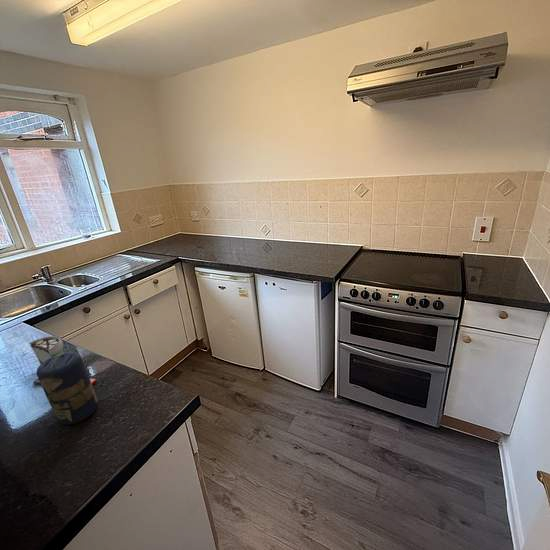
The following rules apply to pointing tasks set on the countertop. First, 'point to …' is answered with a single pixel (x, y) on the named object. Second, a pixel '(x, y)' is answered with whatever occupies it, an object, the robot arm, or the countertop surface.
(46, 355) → the food container
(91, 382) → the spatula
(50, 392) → the canister
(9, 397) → the countertop surface
